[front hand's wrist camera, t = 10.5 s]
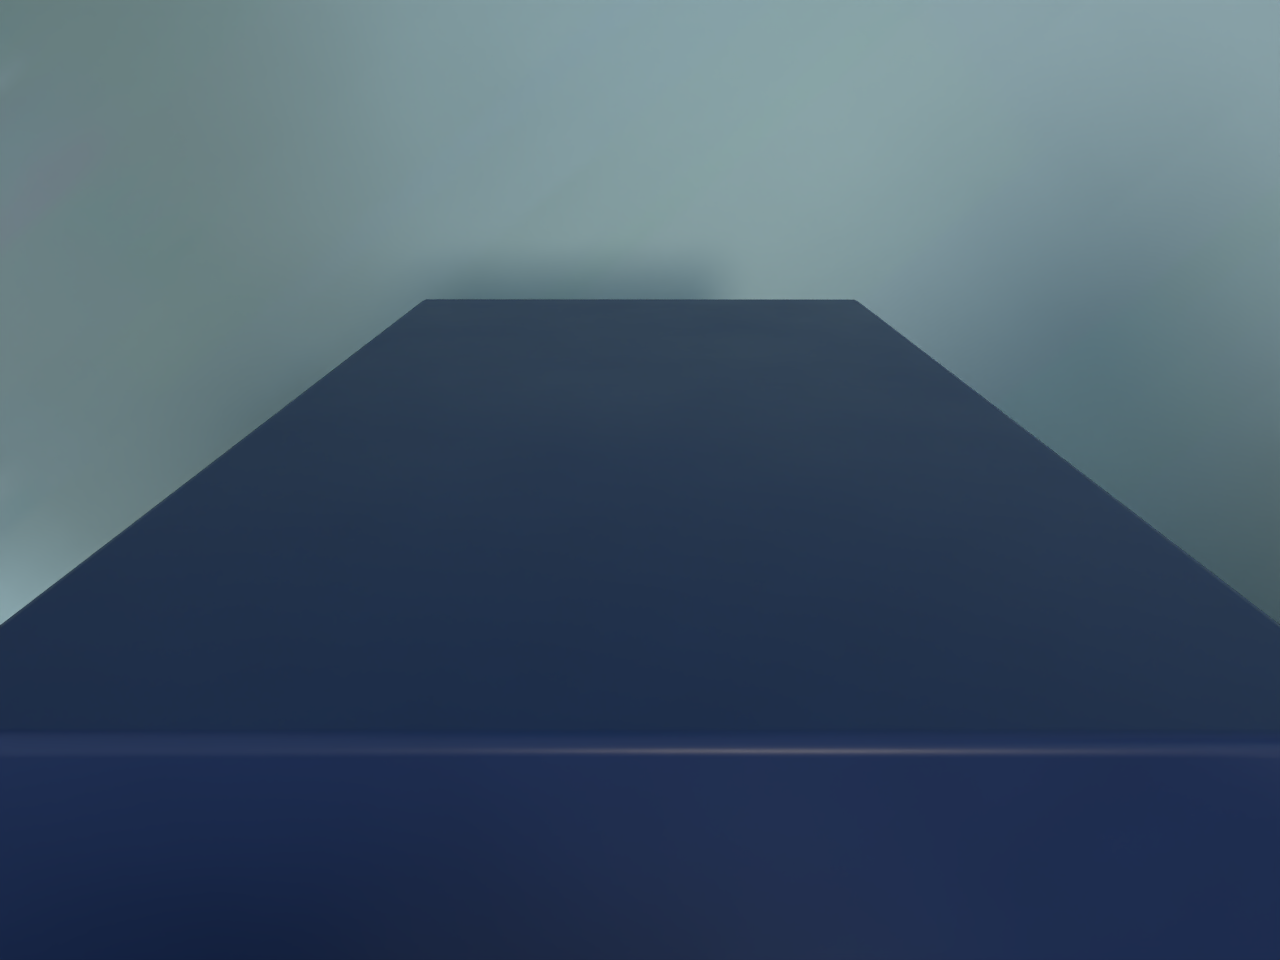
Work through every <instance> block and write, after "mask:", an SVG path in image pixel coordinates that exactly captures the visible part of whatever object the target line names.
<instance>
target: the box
mask: <svg viewBox="0 0 1280 960" xmlns="http://www.w3.org/2000/svg"><path fill="white" fill-rule="evenodd" d="M0 960H1280V624H1278V623H1277V622H1276V621H1274V620H1273V619H1272V618H1270V617H1269V616H1268V615H1267V614H1265V613H1264V612H1263V611H1261V610H1260V609H1259V608H1257V607H1256V606H1255V605H1253V604H1252V603H1251V602H1250V601H1248V600H1247V599H1246V598H1244V597H1243V596H1242V595H1240V594H1239V593H1238V592H1237V591H1235V590H1234V589H1233V588H1231V587H1230V586H1229V585H1227V584H1226V583H1225V582H1223V581H1222V580H1221V579H1220V578H1218V577H1217V576H1216V575H1214V574H1213V573H1212V572H1210V571H1209V570H1208V569H1207V568H1205V567H1204V566H1203V565H1201V564H1200V563H1199V562H1197V561H1196V560H1195V559H1193V558H1192V557H1191V556H1190V555H1188V554H1187V553H1186V552H1184V551H1183V550H1182V549H1180V548H1179V547H1178V546H1176V545H1175V544H1174V543H1173V542H1171V541H1170V540H1169V539H1167V538H1166V537H1165V536H1163V535H1162V534H1161V533H1160V532H1158V531H1157V530H1156V529H1154V528H1153V527H1152V526H1150V525H1149V524H1148V523H1146V522H1145V521H1144V520H1143V519H1141V518H1140V517H1139V516H1137V515H1136V514H1135V513H1133V512H1132V511H1131V510H1129V509H1128V508H1127V507H1126V506H1124V505H1123V504H1122V503H1120V502H1119V501H1118V500H1116V499H1115V498H1114V497H1113V496H1111V495H1110V494H1109V493H1107V492H1106V491H1105V490H1103V489H1102V488H1101V487H1099V486H1098V485H1097V484H1096V483H1094V482H1093V481H1092V480H1090V479H1089V478H1088V477H1086V476H1085V475H1084V474H1083V473H1081V472H1080V471H1079V470H1077V469H1076V468H1075V467H1073V466H1072V465H1071V464H1069V463H1068V462H1067V461H1066V460H1064V459H1063V458H1062V457H1060V456H1059V455H1058V454H1056V453H1055V452H1054V451H1052V450H1051V449H1050V448H1049V447H1047V446H1046V445H1045V444H1043V443H1042V442H1041V441H1039V440H1038V439H1037V438H1036V437H1034V436H1033V435H1032V434H1030V433H1029V432H1028V431H1026V430H1025V429H1024V428H1022V427H1021V426H1020V425H1019V424H1017V423H1016V422H1015V421H1013V420H1012V419H1011V418H1009V417H1008V416H1007V415H1005V414H1004V413H1003V412H1002V411H1000V410H999V409H998V408H996V407H995V406H994V405H992V404H991V403H990V402H989V401H987V400H986V399H985V398H983V397H982V396H981V395H979V394H978V393H977V392H975V391H974V390H973V389H972V388H970V387H969V386H968V385H966V384H965V383H964V382H962V381H961V380H960V379H959V378H957V377H956V376H955V375H953V374H952V373H951V372H949V371H948V370H947V369H945V368H944V367H943V366H942V365H940V364H939V363H938V362H936V361H935V360H934V359H932V358H931V357H930V356H928V355H927V354H926V353H925V352H923V351H922V350H921V349H919V348H918V347H917V346H915V345H914V344H913V343H912V342H910V341H909V340H908V339H906V338H905V337H904V336H902V335H901V334H900V333H898V332H897V331H896V330H895V329H893V328H892V327H891V326H889V325H888V324H887V323H885V322H884V321H883V320H881V319H880V318H879V317H878V316H876V315H875V314H874V313H872V312H871V311H870V310H868V309H867V308H866V307H865V306H863V305H862V304H861V303H859V302H858V301H856V300H471V299H426V300H424V301H422V302H421V303H420V304H418V305H417V306H416V307H414V308H413V309H412V310H410V311H409V312H408V313H406V314H405V315H404V316H403V317H401V318H400V319H399V320H397V321H396V322H395V323H393V324H392V325H391V326H390V327H388V328H387V329H386V330H384V331H383V332H382V333H380V334H379V335H378V336H377V337H375V338H374V339H373V340H371V341H370V342H369V343H367V344H366V345H365V346H363V347H362V348H361V349H360V350H358V351H357V352H356V353H354V354H353V355H352V356H350V357H349V358H348V359H347V360H345V361H344V362H343V363H341V364H340V365H339V366H337V367H336V368H335V369H334V370H332V371H331V372H330V373H328V374H327V375H326V376H324V377H323V378H322V379H321V380H319V381H318V382H317V383H315V384H314V385H313V386H311V387H310V388H309V389H307V390H306V391H305V392H304V393H302V394H301V395H300V396H298V397H297V398H296V399H294V400H293V401H292V402H291V403H289V404H288V405H287V406H285V407H284V408H283V409H281V410H280V411H279V412H278V413H276V414H275V415H274V416H272V417H271V418H270V419H268V420H267V421H266V422H264V423H263V424H262V425H261V426H259V427H258V428H257V429H255V430H254V431H253V432H251V433H250V434H249V435H248V436H246V437H245V438H244V439H242V440H241V441H240V442H238V443H237V444H236V445H235V446H233V447H232V448H231V449H229V450H228V451H227V452H225V453H224V454H223V455H221V456H220V457H219V458H218V459H216V460H215V461H214V462H212V463H211V464H210V465H208V466H207V467H206V468H205V469H203V470H202V471H201V472H199V473H198V474H197V475H195V476H194V477H193V478H192V479H190V480H189V481H188V482H186V483H185V484H184V485H182V486H181V487H180V488H178V489H177V490H176V491H175V492H173V493H172V494H171V495H169V496H168V497H167V498H165V499H164V500H163V501H162V502H160V503H159V504H158V505H156V506H155V507H154V508H152V509H151V510H150V511H149V512H147V513H146V514H145V515H143V516H142V517H141V518H139V519H138V520H137V521H135V522H134V523H133V524H132V525H130V526H129V527H128V528H126V529H125V530H124V531H122V532H121V533H120V534H119V535H117V536H116V537H115V538H113V539H112V540H111V541H109V542H108V543H107V544H106V545H104V546H103V547H102V548H100V549H99V550H98V551H96V552H95V553H94V554H92V555H91V556H90V557H89V558H87V559H86V560H85V561H83V562H82V563H81V564H79V565H78V566H77V567H76V568H74V569H73V570H72V571H70V572H69V573H68V574H66V575H65V576H64V577H63V578H61V579H60V580H59V581H57V582H56V583H55V584H53V585H52V586H51V587H49V588H48V589H47V590H46V591H44V592H43V593H42V594H40V595H39V596H38V597H36V598H35V599H34V600H33V601H31V602H30V603H29V604H27V605H26V606H25V607H23V608H22V609H21V610H20V611H18V612H17V613H16V614H14V615H13V616H12V617H10V618H9V619H8V620H6V621H5V622H4V623H3V624H1V625H0Z"/></svg>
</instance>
